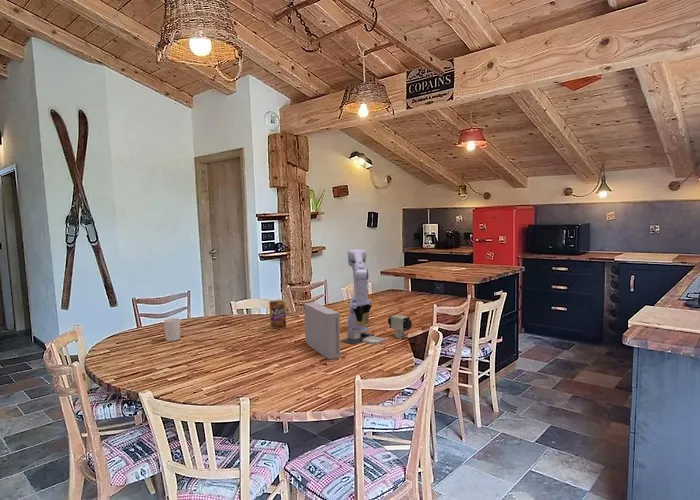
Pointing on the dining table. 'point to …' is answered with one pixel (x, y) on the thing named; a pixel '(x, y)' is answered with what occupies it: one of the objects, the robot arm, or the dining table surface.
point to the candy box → (277, 314)
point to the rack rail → (363, 336)
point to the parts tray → (373, 340)
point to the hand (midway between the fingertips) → (362, 320)
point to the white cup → (172, 329)
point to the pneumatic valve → (399, 324)
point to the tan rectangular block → (363, 319)
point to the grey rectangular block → (354, 334)
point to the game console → (322, 330)
